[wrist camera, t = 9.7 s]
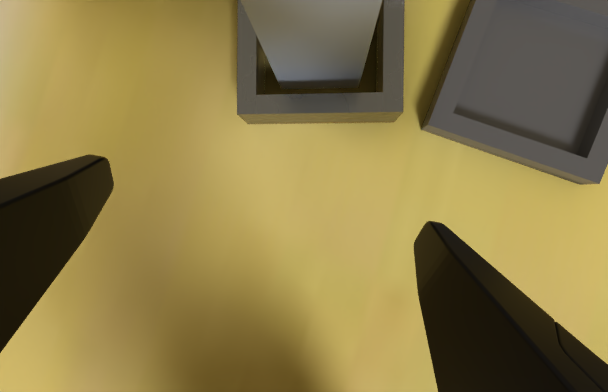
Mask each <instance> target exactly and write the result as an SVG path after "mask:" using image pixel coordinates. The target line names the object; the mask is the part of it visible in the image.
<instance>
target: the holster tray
mask: <svg viewBox="0 0 608 392" xmlns="http://www.w3.org/2000/svg"><path fill="white" fill-rule="evenodd" d="M421 130H424V131H427V132H430V133H432V134H435V135H438V136H441V137H444V138H447V139H450V140H453V141H456V142H458V143H461V144H464V145H467V146H470V147H473V148H476V149H479V150H482V151H484V152H487V153H490V154H493V155H496V156H499V157H502V158H505V159H508V160H510V161H513V162H516V163H519V164H522V165H525V166H528V167H531V168H534V169H537V170H539V171H542V172H545V173H548V174H551V175H554V176H557V177H560V178H563V179H565V180H568V181H571V182H574V183H577V184H600V181H601V179H602V176H603V174H604V171H605V169H606V167H607V164H608V0H471V1H470V4H469V6H468V9H467V11H466V14H465V17H464V19H463V22H462V24H461V27H460V30H459V32H458V35H457V37H456V40H455V43H454V45H453V48H452V50H451V53H450V56H449V58H448V61H447V63H446V66H445V69H444V71H443V74H442V76H441V79H440V82H439V84H438V87H437V89H436V92H435V95H434V97H433V100H432V102H431V105H430V108H429V110H428V113H427V115H426V118H425V121H424V123H423V126H422V128H421Z"/></svg>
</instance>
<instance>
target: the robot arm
mask: <svg viewBox="0 0 608 392" xmlns="http://www.w3.org/2000/svg"><path fill="white" fill-rule="evenodd" d="M113 186H114V182H113V177H112V173H111V168H110V164H109V161H108V159H107V158H105V157H101V156H96V155H85V156H82V157H78V158H74V159H71V160H67V161H63V162H60V163H56V164H53V165H49V166H45V167H42V168H38V169H34V170H31V171H27V172H23V173H20V174H16V175H13V176H9V177H5V178H2V179H0V353H1V351H2V350H3V349H4V347H5V346H6V345H7V343H8V342H9V340H10V339H11V338H12V336H13V335H14V334H15V332H16V331H17V330H18V328H19V327H20V326H21V324H22V323H23V321H24V320H25V319H26V317H27V316H28V315H29V313H30V312H31V311H32V309H33V308H34V307H35V305H36V304H37V302H38V301H39V300H40V298H41V297H42V296H43V294H44V293H45V292H46V290H47V289H48V288H49V286H50V285H51V284H52V282H53V281H54V279H55V278H56V277H57V275H58V274H59V273H60V271H61V270H62V269H63V267H64V266H65V265H66V263H67V262H68V260H69V259H70V258H71V256H72V255H73V254H74V252H75V251H76V250H77V248H78V247H79V246H80V244H81V243H82V241H83V240H84V238H85V237H86V236H87V234H88V232H89V231H90V229H91V227H92V226H93V224H94V222H95V220H96V219H97V217H98V215H99V213H100V212H101V210H102V208H103V206H104V205H105V203H106V201H107V199H108V198H109V196H110V194H111V192H112V190H113ZM414 256H415V267H416V278H417V288H418V296H419V301H420V306H421V311H422V316H423V320H424V325H425V330H426V335H427V340H428V345H429V349H430V354H431V359H432V364H433V369H434V373H435V378H436V383H437V388H438V392H608V364H606V363H605V362H604V361H603V360H601V359H600V358H599V357H598V356H596V355H595V354H594V353H593V352H592V351H591V350H589V349H588V348H587V347H586V346H585V345H583V344H582V343H581V342H580V341H579V340H577V339H576V338H575V337H574V336H573V335H572V334H570V333H569V332H568V331H567V330H566V329H565V328H563V327H562V326H561V325H560V324H559V323H558V322H554V319H553V318H552V317H551V316H549V315H548V314H547V313H546V312H545V311H544V310H542V309H541V308H540V307H539V306H538V305H537V304H536V303H534V302H533V301H532V300H531V299H530V298H529V297H527V296H526V295H525V294H524V293H523V292H522V291H520V290H519V289H518V288H517V287H516V286H515V285H513V284H512V283H511V282H510V281H509V280H508V279H507V278H505V277H504V276H503V275H502V274H501V273H500V272H498V271H497V270H496V269H495V268H494V267H493V266H491V265H490V264H489V263H488V262H487V261H486V260H485V259H483V258H482V257H481V256H480V255H479V254H478V253H476V252H475V251H474V250H473V249H472V248H471V247H469V246H468V245H467V244H466V243H465V242H464V241H462V240H461V239H460V238H459V237H458V236H457V235H456V234H454V233H453V232H452V231H451V230H450V229H449V228H447V227H446V226H445V225H444V224H442V223H439V222H433V221H428V222H427V223H426V224H425V225H424V226H423V228H422V230H421V231H420V233H419V235H418V236H417V238H416V240H415V242H414Z"/></svg>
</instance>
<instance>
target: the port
mask: <svg viewBox="0 0 608 392" xmlns="http://www.w3.org/2000/svg"><path fill="white" fill-rule="evenodd" d="M403 76H404V0H382V3H381V7H380V11H379V14H378V18H377V77H376V92H372V93H323V94H273V95H265V52H264V50H263V48H262V46H261V44H260V42H259V39H258V37H257V35H256V33H255V31H254V29H253V26H252V24H251V22H250V20H249V18H248V16H247V13H246V11H245V9H244V7H243V5H242V3H241V0H238V50H237V115H238V116H240V117H241V118H242V119H243V120H244V121H246V122H247V123H248V124H288V123H372V122H394V121H395V120H396V119H397V118H398V117H399V116H400V115H401V114H402V113H403Z"/></svg>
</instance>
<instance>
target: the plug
mask: <svg viewBox="0 0 608 392" xmlns="http://www.w3.org/2000/svg"><path fill="white" fill-rule="evenodd" d="M241 3H242V5H243V7H244V9H245V11H246V13H247V16H248V18H249V20H250V22H251V24H252V26H253V29H254V31H255V33H256V35H257V37H258V39H259V42H260V44H261V46H262V48H263V50H264V52H265V55H266V57H267V59H268V61H269V63H270V65H271V68H272V70H273V72H274V74H275V76H276V78H277V81H278V83H279V85H280V87H281V89H322V88H358V87H359V84H360V80H361V77H362V73H363V69H364V66H365V62H366V58H367V55H368V51H369V47H370V44H371V40H372V36H373V33H374V29H375V25H376V22H377V18H378V14H379V11H380V7H381V3H382V0H241Z"/></svg>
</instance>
